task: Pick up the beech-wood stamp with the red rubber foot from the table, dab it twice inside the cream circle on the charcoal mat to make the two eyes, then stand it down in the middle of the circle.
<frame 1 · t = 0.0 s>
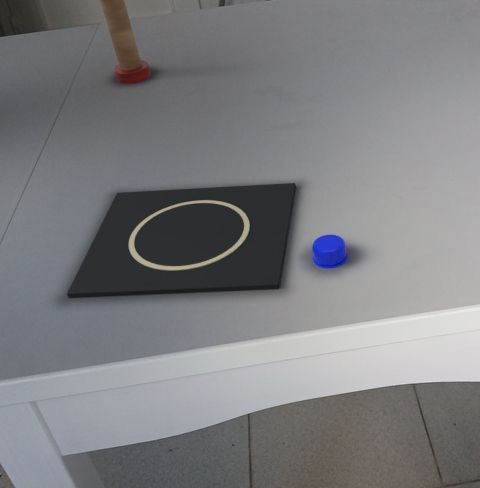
bottle cap: (330, 260, 62), on the table
stamp: (134, 77, 95), on the table
mat: (191, 239, 66), on the table
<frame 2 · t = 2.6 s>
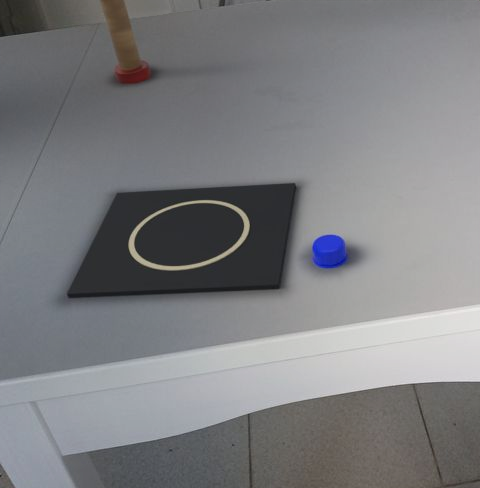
nothing on the table moved.
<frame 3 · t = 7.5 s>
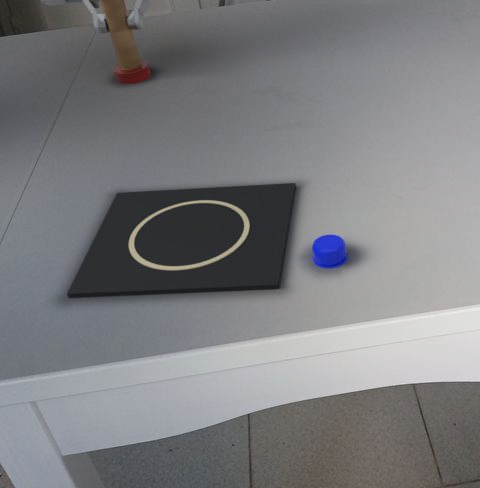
hand: (119, 29, 90), 6 cm above the table, tool tilted 45°, fingers closed on stamp, 3 cm apart
stamp: (134, 77, 95), on the table, touching gripper
everything else where it was.
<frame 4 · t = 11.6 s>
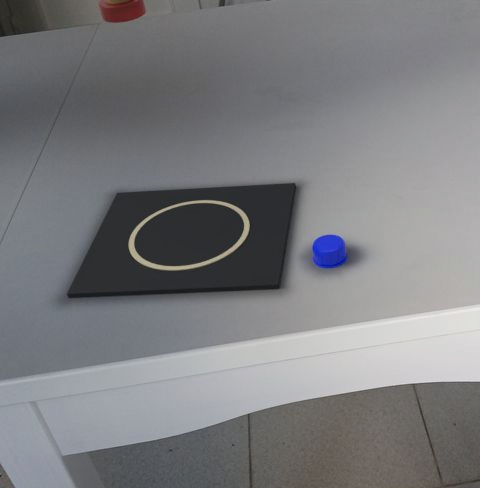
stamp: (124, 15, 74), point 13 cm above the table, touching gripper
everything else where it was.
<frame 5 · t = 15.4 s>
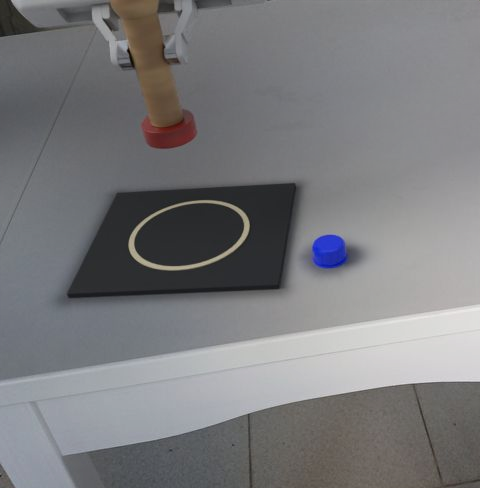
hand: (150, 65, 57), 15 cm above the table, tool tilted 45°, fingers closed on stamp, 3 cm apart
stamp: (171, 136, 62), point 9 cm above the table, touching gripper
everything else where it was.
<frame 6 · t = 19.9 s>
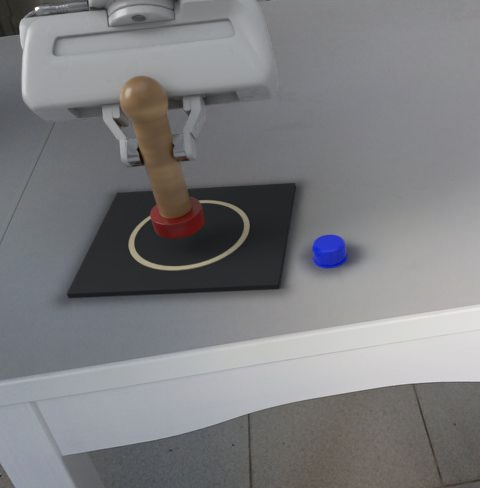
hand: (159, 162, 58), 9 cm above the table, tool tilted 45°, fingers closed on stamp, 3 cm apart
stamp: (179, 224, 63), point 3 cm above the table, touching gripper
everything else where it was.
when the fingers open (7 cm above the table, at t = 23.5 s): stamp stays where it is, resting on mat.
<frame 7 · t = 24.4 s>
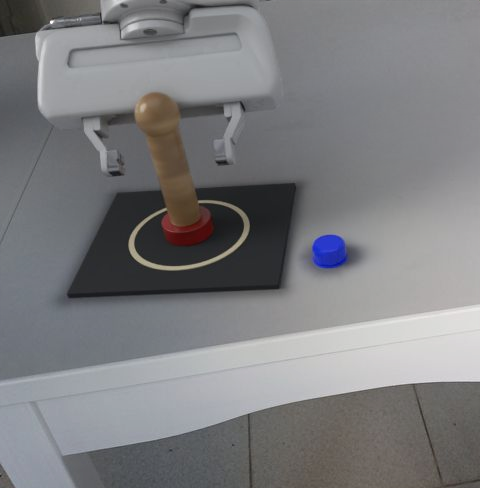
hand: (169, 169, 61), 7 cm above the table, tool tilted 45°, fingers open, 8 cm apart
stamp: (189, 232, 66), point 1 cm above the table, touching mat
everything else where it was.
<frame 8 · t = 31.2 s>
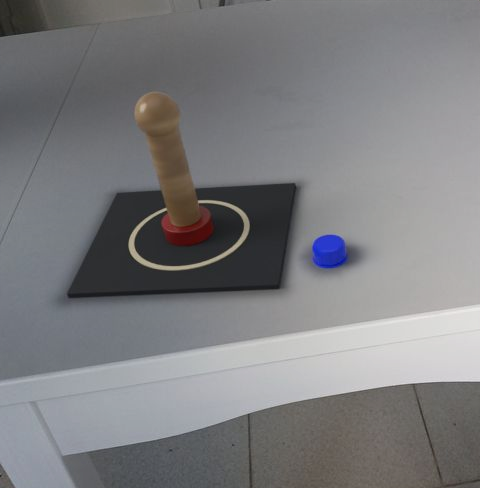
nothing on the table moved.
at the end: stamp 0.1 cm off-centre on the mat, point 0.7 cm above the mat's base; stamp tilted 0°; the gripper is holding nothing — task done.
